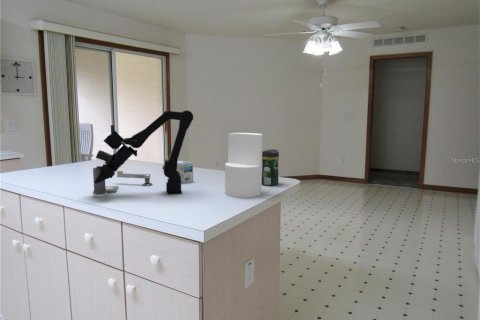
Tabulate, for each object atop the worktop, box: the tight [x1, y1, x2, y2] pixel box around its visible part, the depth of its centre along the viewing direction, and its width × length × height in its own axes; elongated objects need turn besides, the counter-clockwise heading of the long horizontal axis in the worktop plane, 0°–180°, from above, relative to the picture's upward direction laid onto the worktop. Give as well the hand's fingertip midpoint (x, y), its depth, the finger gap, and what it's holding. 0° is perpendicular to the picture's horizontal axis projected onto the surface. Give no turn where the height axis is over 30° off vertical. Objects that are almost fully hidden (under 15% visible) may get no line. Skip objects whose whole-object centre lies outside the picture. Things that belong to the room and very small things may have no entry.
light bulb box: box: [177, 160, 194, 184], centre depth 187 cm, size 11×7×11 cm, turn 47°
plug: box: [92, 165, 108, 198], centre depth 155 cm, size 6×6×13 cm
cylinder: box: [224, 132, 264, 198], centre depth 162 cm, size 17×17×28 cm
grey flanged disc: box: [142, 178, 153, 187], centre depth 178 cm, size 5×5×3 cm
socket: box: [92, 185, 120, 194], centre depth 166 cm, size 10×10×1 cm
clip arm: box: [116, 170, 151, 180], centre depth 178 cm, size 18×3×3 cm, turn 82°
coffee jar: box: [261, 148, 280, 187], centre depth 182 cm, size 10×8×19 cm
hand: (96, 181), depth 155 cm, fingers closed on plug, 5 cm apart
